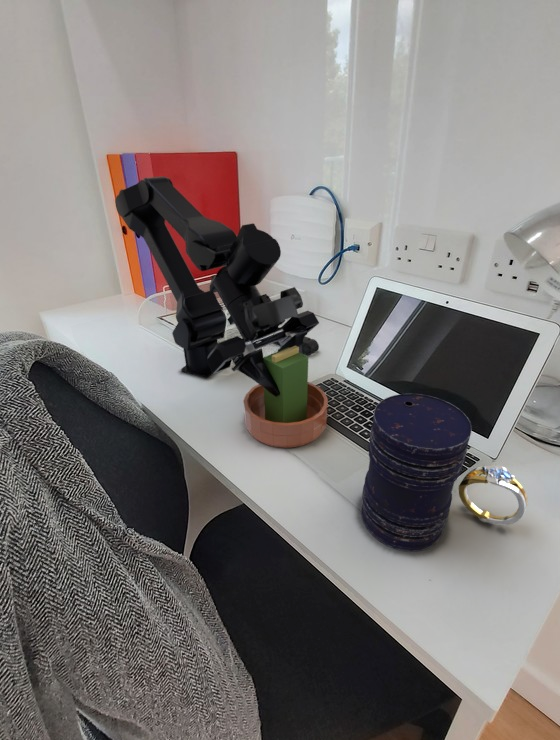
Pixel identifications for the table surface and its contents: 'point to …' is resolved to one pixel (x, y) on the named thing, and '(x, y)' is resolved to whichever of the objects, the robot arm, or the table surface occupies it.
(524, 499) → the ring
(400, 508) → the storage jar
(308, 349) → the tablet stand
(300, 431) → the bowl
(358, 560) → the table surface
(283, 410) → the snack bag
